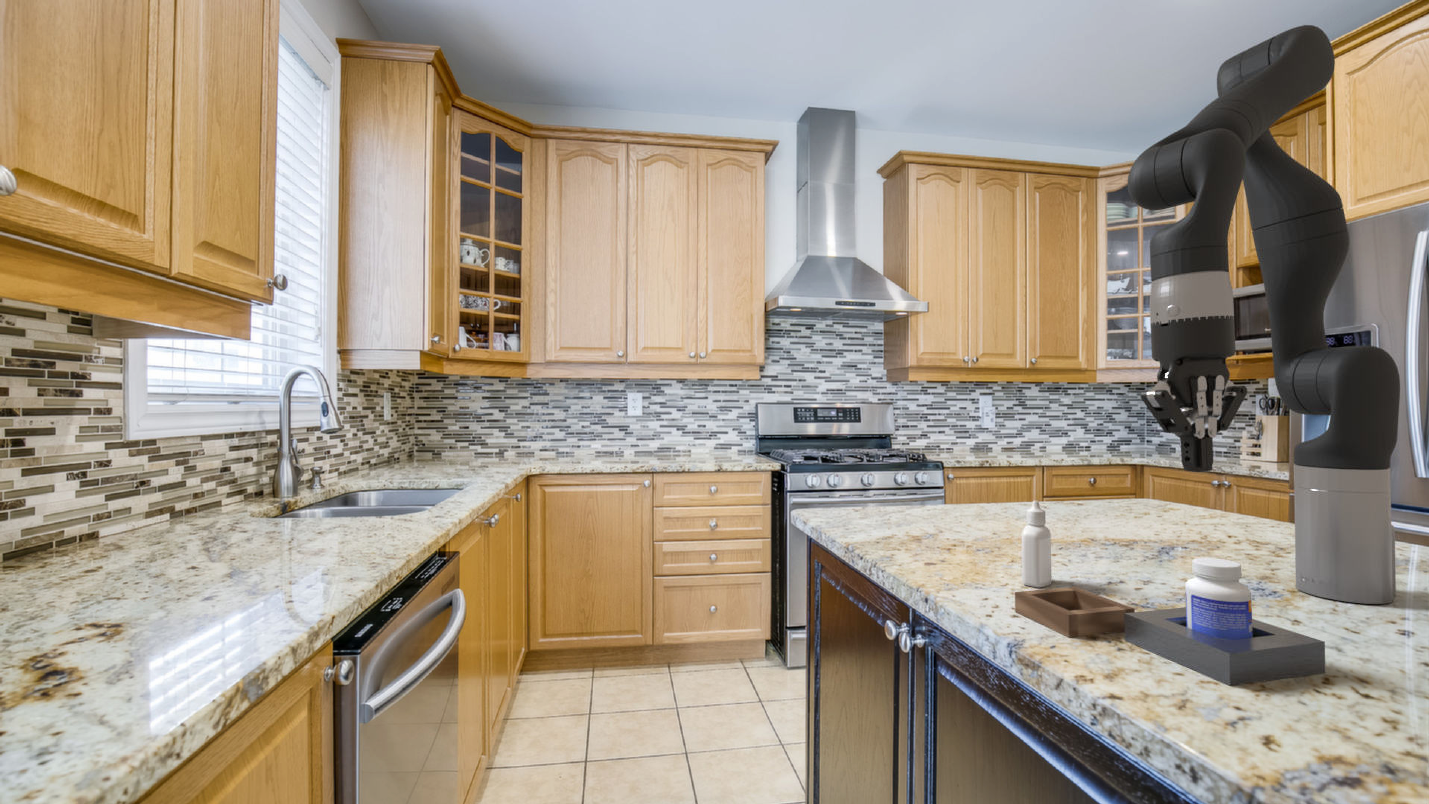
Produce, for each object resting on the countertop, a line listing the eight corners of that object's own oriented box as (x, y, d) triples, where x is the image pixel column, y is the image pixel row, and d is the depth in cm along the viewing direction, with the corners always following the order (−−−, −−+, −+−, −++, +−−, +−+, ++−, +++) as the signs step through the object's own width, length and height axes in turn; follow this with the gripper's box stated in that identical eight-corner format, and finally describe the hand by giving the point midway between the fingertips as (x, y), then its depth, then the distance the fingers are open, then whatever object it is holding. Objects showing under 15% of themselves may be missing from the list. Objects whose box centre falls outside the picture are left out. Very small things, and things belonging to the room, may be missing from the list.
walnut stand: (1075, 605, 81) (1075, 586, 81) (1134, 630, 73) (1134, 608, 73) (1015, 611, 80) (1014, 591, 80) (1068, 637, 71) (1068, 615, 71)
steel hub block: (1208, 630, 72) (1208, 604, 72) (1325, 672, 61) (1324, 641, 61) (1124, 640, 70) (1124, 613, 70) (1230, 685, 58) (1229, 653, 58)
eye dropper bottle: (1064, 585, 90) (1063, 502, 90) (1032, 589, 89) (1031, 504, 89) (1040, 577, 95) (1039, 497, 95) (1010, 580, 93) (1008, 500, 93)
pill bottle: (1266, 668, 62) (1264, 569, 62) (1204, 664, 63) (1202, 567, 63) (1232, 647, 67) (1231, 556, 67) (1176, 643, 69) (1174, 554, 69)
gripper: (1203, 321, 76) (1209, 464, 76) (1114, 322, 73) (1121, 472, 73) (1271, 312, 69) (1278, 470, 69) (1176, 313, 66) (1183, 479, 66)
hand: (1197, 470), depth 71 cm, fingers closed
